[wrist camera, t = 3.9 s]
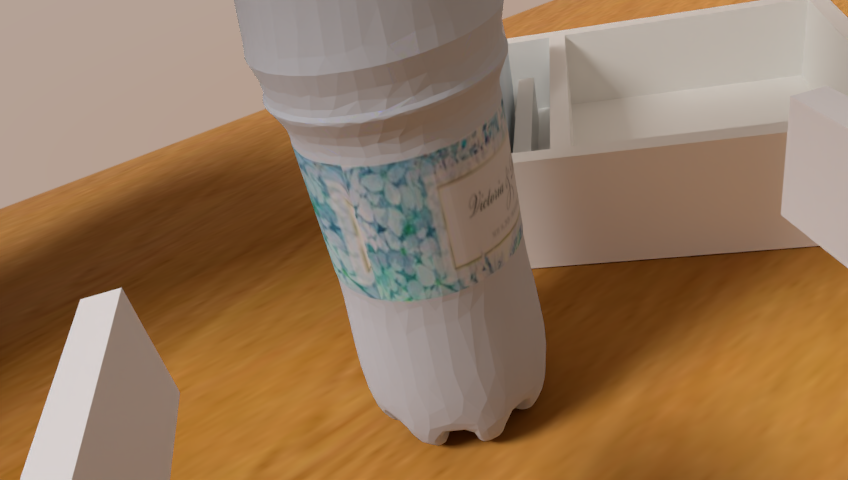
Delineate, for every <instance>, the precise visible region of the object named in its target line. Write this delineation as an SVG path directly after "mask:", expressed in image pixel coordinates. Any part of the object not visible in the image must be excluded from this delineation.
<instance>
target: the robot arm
mask: <svg viewBox="0 0 848 480" xmlns="http://www.w3.org/2000/svg"><path fill="white" fill-rule="evenodd" d="M781 216H783V217H784V218H785V219H787V220H788V221H789V222H790V223H792V224H793V225H794V226H795V227H797V228H798V229H799V230H800V231H802V232H803V233H804V234H805V235H807V236H808V237H809V238H810V239H812V240H813V241H814V242H815V243H817V244H818V245H819V246H820V247H822V248H823V249H824V250H825V251H827V252H828V253H829V254H830V255H832V256H833V257H834V258H835V259H837V260H838V261H839V262H840V263H842V264H843V265H844V266H846V267H847V268H848V96H846V95H844V94H842V93H841V92H839V91H837V90H835V89H833V88H831V87H829V86H824V87H821V88H817V89H814V90H810V91H807V92H803V93H800V94H796V95H793V96H790V106H789V118H788V131H787V143H786V155H785V167H784V180H783V192H782V204H781ZM179 397H180V392H179V390H178V388H177V386H176V385H175V383H174V381H173V379H172V377H171V376H170V374H169V372H168V370H167V368H166V367H165V365H164V363H163V361H162V359H161V358H160V356H159V354H158V352H157V350H156V349H155V347H154V345H153V343H152V341H151V339H150V338H149V336H148V334H147V332H146V330H145V329H144V327H143V325H142V323H141V321H140V320H139V318H138V316H137V314H136V312H135V311H134V309H133V307H132V305H131V303H130V302H129V300H128V298H127V296H126V294H125V293H124V291H123V289H122V288H118V289H115V290H111V291H108V292H104V293H101V294H97V295H94V296H90V297H87V298H83V299H80V302H79V305H78V308H77V311H76V314H75V317H74V320H73V323H72V326H71V329H70V332H69V335H68V337H67V340H66V343H65V346H64V349H63V352H62V355H61V358H60V361H59V364H58V367H57V370H56V373H55V376H54V379H53V382H52V385H51V388H50V391H49V394H48V397H47V400H46V403H45V406H44V409H43V412H42V415H41V418H40V421H39V424H38V427H37V430H36V433H35V436H34V439H33V442H32V445H31V448H30V451H29V454H28V457H27V460H26V463H25V466H24V469H23V472H22V475H21V478H20V480H170V474H171V465H172V456H173V448H174V439H175V431H176V422H177V414H178V405H179Z"/></svg>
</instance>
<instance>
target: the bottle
mask: <svg viewBox="0 0 848 480" xmlns="http://www.w3.org/2000/svg"><path fill="white" fill-rule="evenodd" d="M503 1H504V0H234V3H235V7H236V13H237V17H238V22H239V27H240V31H241V36H242V41H243V48H244V55H245V60H246V62H247V64H248V65H249V67H250V68H251V70H252V71H253V73H254V74H255V76H256V77H257V79H258V80H259V82H260V85H261V87H262V90H263V92H264V93H263V103H264V106H265V108H266V109H267V110H268V111H269V112H270V113H271V114H272V115H273V116H274V117H275V118H276V119H277V120H278V121H279V122H280V123H281V124H282V125H283V126H284V128H285V129H286V130H287V132H288V134H289V136H290V139H291V143H292V147H293V149H294V152H295V155H296V158H297V161H298V164H299V167H300V170H301V173H302V176H303V179H304V182H305V185H306V187H307V190H308V193H309V196H310V199H311V202H312V205H313V208H314V211H315V214H316V217H317V220H318V222H319V225H320V228H321V231H322V234H323V237H324V240H325V243H326V246H327V249H328V252H329V255H330V257H331V260H332V263H333V266H334V269H335V272H336V274H337V276H338V279H339V282H340V286H341V289H342V292H343V296H344V300H345V304H346V308H347V312H348V317H349V321H350V325H351V329H352V333H353V338H354V342H355V346H356V349H357V353H358V356H359V360H360V364H361V367H362V370H363V373H364V375H365V378H366V381H367V384H368V386H369V389H370V391H371V393H372V395H373V396H374V398H375V400H376V402H377V404H378V406H379V407H380V408H381V409H382V410H383V411H384V412H385V413H386V414H387V415H388V416H389V417H391V418H393V419H395V420H400V421H401V422H402V423H403V424H404V425H405V426H406V427H407V428H408V429H409V430H410V431H411V433H412V434H413V435H414V436H416V437H417V438H418V439H420V440H421V441H422V442H425V443H428V444H433V445H438V446H439V445H441V444H443V443H445V442H446V440H447V438H448V436H449V431H457V430H468V431H471V432H474V433H475V434H476V435H477V436H478V438H479V439H480V440H482V441H488V440H492V439H494V438H496V437H498V436H499V435H500V434H501V433H502V432H503V430H504V427H505V425H506V422H507V420H508V418H509V416H510V414H511V412H512V410H513V409H514V408H517V409H527V408H530V407H531V406H532V405H533V404H534V403H535V401H536V400H537V398H538V396H539V394H540V392H541V390H542V387H543V383H544V379H545V368H546V336H545V325H544V321H543V316H542V311H541V307H540V302H539V298H538V293H537V289H536V285H535V281H534V277H533V273H532V269H531V266H530V262H529V258H528V254H527V250H526V245H525V240H524V235H523V224H522V218H521V211H520V205H519V199H518V192H517V186H516V179H515V173H514V167H513V160H512V154H511V147H510V141H509V135H508V128H507V122H506V115H505V109H504V103H503V96H502V91H501V87H500V74H501V70H502V67H503V65H504V62H505V59H506V56H507V53H508V41H507V38H506V37H505V35H504V34H503V32H502V10H503Z"/></svg>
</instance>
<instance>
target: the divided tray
mask: <svg viewBox="0 0 848 480" xmlns="http://www.w3.org/2000/svg"><path fill="white" fill-rule="evenodd" d="M502 32H503V34H504V35H505V31H504V27H503V22H502ZM507 41H508V53H507V56H506V59H505V62H504V65H503V67H502V70H501V74H500V87H501V91H502V96H503V103H504V109H505V115H506V122H507V128H508V135H509V141H510V147H511V154H512V160H513V167H514V173H515V179H516V186H517V192H518V199H519V205H520V211H521V218H522V224H523V235H524V240H525V245H526V250H527V254H528V258H529V262H530V266H531V268H543V267H556V266H568V265H581V264H594V263H606V262H619V261H632V260H645V259H657V258H670V257H683V256H696V255H708V254H721V253H734V252H746V251H759V250H772V249H785V248H797V247H810V246H819V245H818V244H817V243H815V242H814V241H813V240H812V239H810V238H809V237H808V236H807V235H805V234H804V233H803V232H802V231H800V230H799V229H798V228H797V227H795V226H794V225H793V224H792V223H790V222H789V221H788V220H787V219H785V218H784V217H783V216H781V204H782V192H783V180H784V167H785V155H786V143H787V131H788V118H789V106H790V96H793V95H796V94H800V93H803V92H807V91H810V90H814V89H817V88H821V87H824V86H829V87H831V88H833V89H835V90H837V91H839V92H841V93H842V94H844V95H846V96H848V17H847V16H846V15H845V14H844V13H843V12H841V11H840V10H839V9H838V8H837V7H836V6H835V5H834V4H833V3H832V2H831V1H830V0H759V1H753V2H746V3H740V4H733V5H726V6H720V7H713V8H707V9H700V10H693V11H687V12H680V13H674V14H667V15H660V16H654V17H647V18H641V19H634V20H627V21H621V22H614V23H608V24H601V25H594V26H588V27H581V28H575V29H568V30H561V31H555V32H548V33H542V34H535V35H528V36H522V37H515V38H509V39H507Z"/></svg>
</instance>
